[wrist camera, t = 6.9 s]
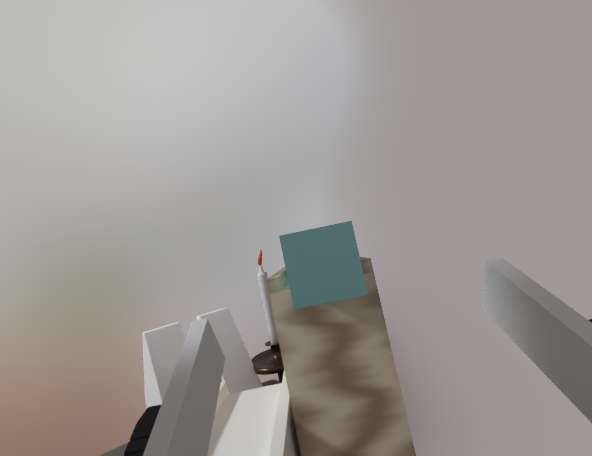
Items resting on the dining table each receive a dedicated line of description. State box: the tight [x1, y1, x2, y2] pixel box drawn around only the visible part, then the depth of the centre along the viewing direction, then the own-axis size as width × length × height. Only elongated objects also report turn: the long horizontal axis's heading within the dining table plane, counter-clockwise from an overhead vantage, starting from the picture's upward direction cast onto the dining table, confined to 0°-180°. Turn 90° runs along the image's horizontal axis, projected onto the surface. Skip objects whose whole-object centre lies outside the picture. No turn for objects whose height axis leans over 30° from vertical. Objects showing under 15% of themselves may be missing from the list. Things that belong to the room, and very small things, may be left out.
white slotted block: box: [142, 308, 263, 408], centre depth 53 cm, size 19×15×25 cm
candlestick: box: [251, 250, 284, 383], centre depth 55 cm, size 11×11×35 cm
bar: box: [279, 221, 368, 309], centre depth 30 cm, size 4×30×4 cm, turn 178°
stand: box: [267, 257, 416, 456], centre depth 32 cm, size 9×18×31 cm, turn 178°
